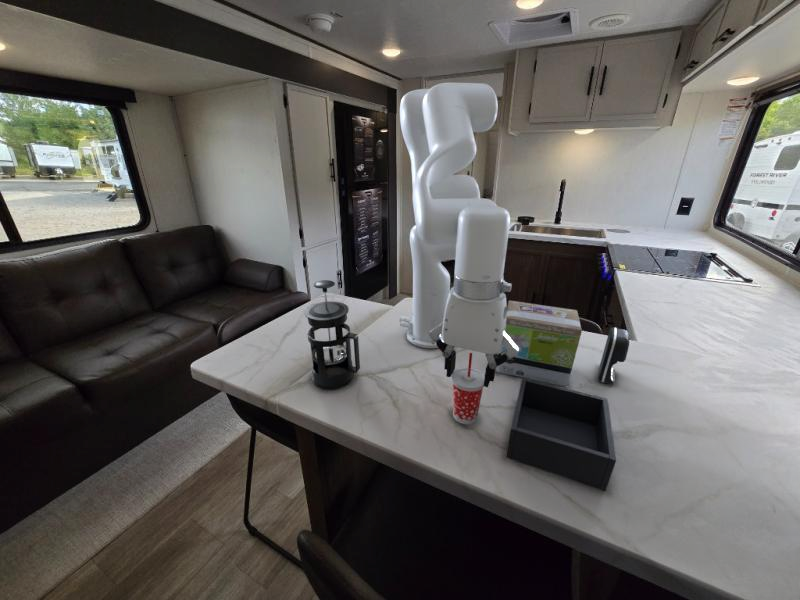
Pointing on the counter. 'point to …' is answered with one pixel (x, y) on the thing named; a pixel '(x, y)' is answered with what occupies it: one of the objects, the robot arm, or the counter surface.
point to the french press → (331, 342)
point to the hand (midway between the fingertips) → (468, 377)
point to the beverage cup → (467, 393)
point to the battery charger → (613, 354)
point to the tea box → (542, 342)
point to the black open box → (563, 433)
